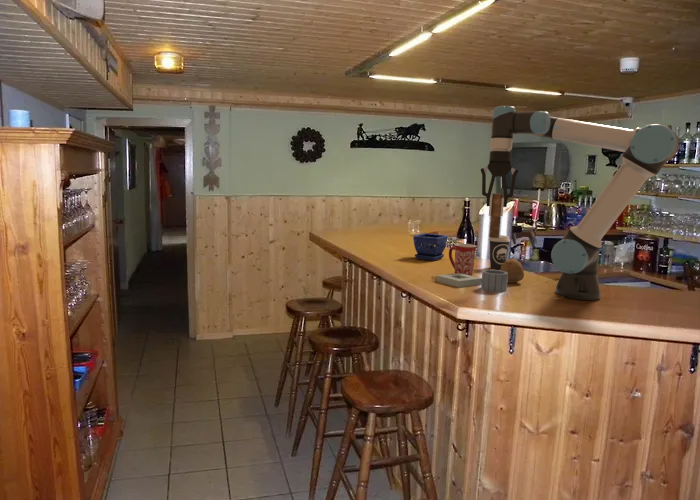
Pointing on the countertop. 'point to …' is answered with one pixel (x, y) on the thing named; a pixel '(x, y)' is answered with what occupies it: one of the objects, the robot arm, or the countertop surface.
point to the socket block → (459, 280)
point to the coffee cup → (498, 251)
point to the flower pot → (430, 246)
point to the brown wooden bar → (495, 215)
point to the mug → (463, 258)
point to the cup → (494, 280)
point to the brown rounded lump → (513, 270)
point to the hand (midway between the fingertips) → (495, 215)
